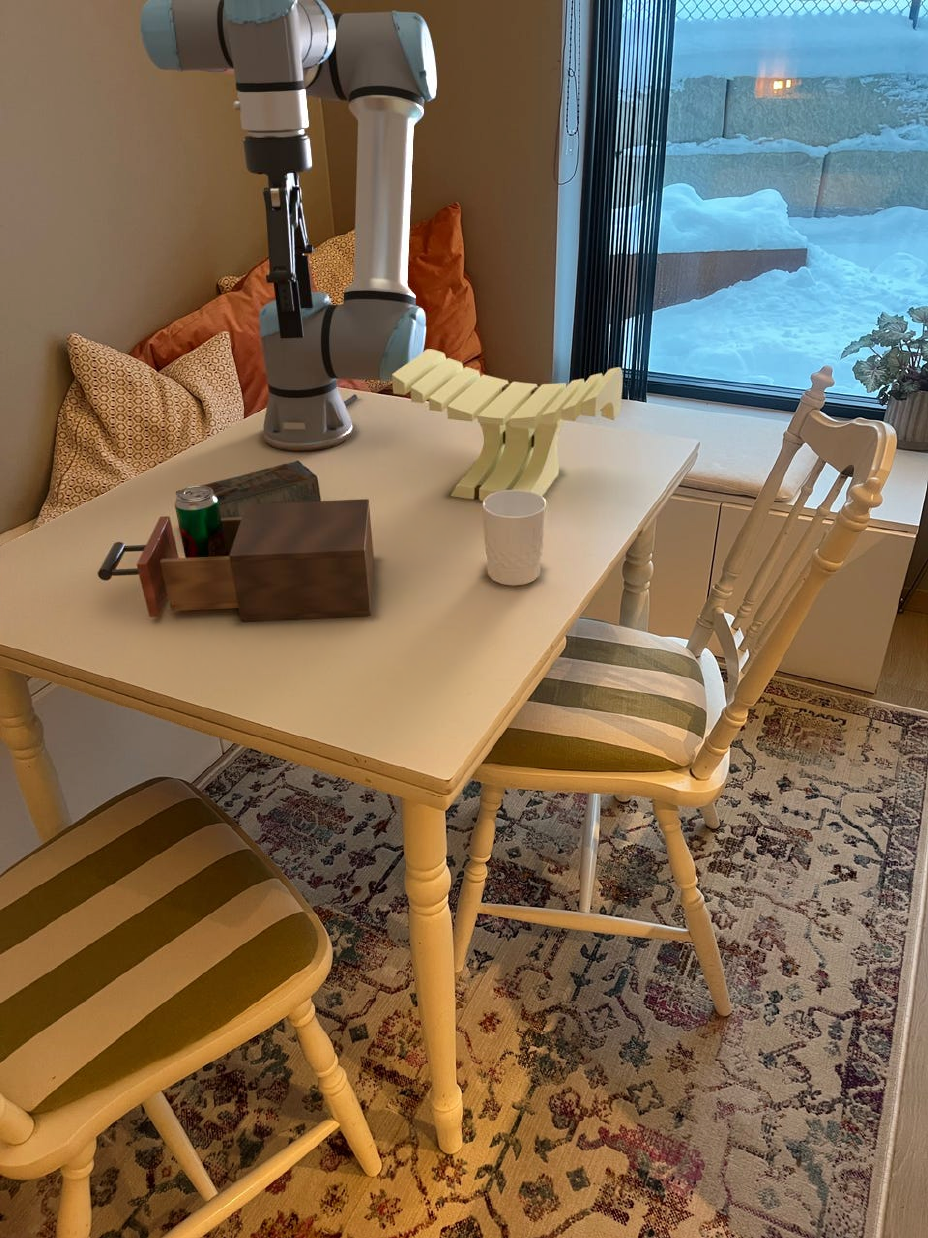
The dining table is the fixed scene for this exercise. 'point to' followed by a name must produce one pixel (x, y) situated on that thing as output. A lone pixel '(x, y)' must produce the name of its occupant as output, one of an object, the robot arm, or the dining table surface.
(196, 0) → the robot arm
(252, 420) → the dining table surface
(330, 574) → the cabinet
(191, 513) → the soda can
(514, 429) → the slatted curved stool
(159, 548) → the drawer
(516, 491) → the white cup
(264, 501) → the beverage carton
